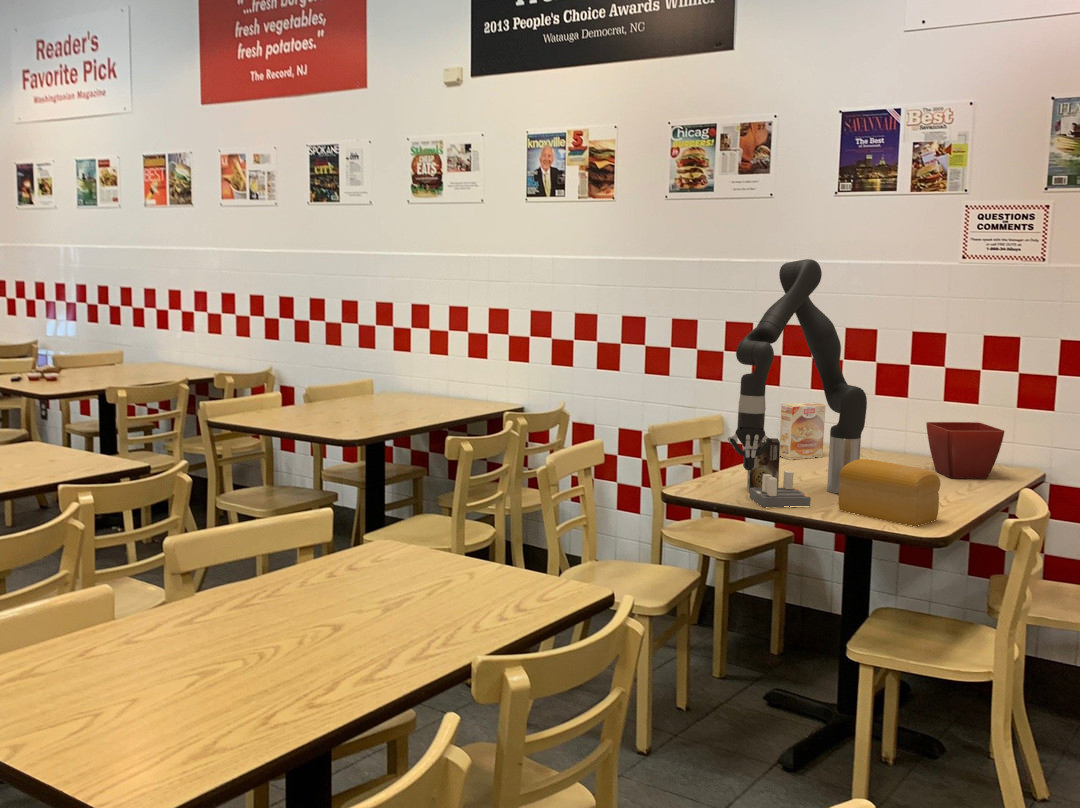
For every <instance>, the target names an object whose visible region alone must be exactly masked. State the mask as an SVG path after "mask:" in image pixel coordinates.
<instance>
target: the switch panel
mask: <svg viewBox="0 0 1080 808" xmlns="http://www.w3.org/2000/svg"><path fill="white" fill-rule="evenodd" d="M749 499H751V500H752V501H753V500H754V501H753V502H754V503H756V504H757V503H758V504H757V505H758V506H760V505H761V506H762V507H761V506H760V507H761V508H762V509H767V508H766V507H784V506H789V507H790V506H810V507H811V499H812V498H811V496H809V495H808V494H806V493H804V492H803V491H801V490H800V489H798V488H797V487H793V489H785V488H784V487H778V488H777V495H776V496H769V495H767V493H764V492H763V491H762V488H750V492H749Z"/></svg>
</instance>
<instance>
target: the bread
mask: <svg viewBox="0 0 1080 808" xmlns="http://www.w3.org/2000/svg"><path fill="white" fill-rule="evenodd" d="M840 481H841V484H840V488H839V494H838V503H837V504H838V510H839V509H840V510H843V511H842V512H844V511H846V512H845V513H848V512H850V513H849V514H852V513H855V514H854V515H857V514H859V515H858V516H862V515H863V516H862V517H866V516H868V517H867V518H871V517H873V518H872V519H875V518H877V520H880V519H882V520H881V521H884V520H886V522H889V521H892V522H891V523H894V522H896V523H895V524H898V523H901V524H900V525H903V524H907V525H906V526H908V525H912V526H911V527H913V526H917V527H919V526H918V525H921V524H924V525H926V524H925V523H927V524H929V523H928V522H931V521H934V520H936V521H937V519H938V516H939V515H938V514H939V510H940V509H939V507H940V495H939V491H940V488H941V479H940V476H939V475H938V474H936V473H935V472H934V471H932V470H928V469H926V468H921V467H916V466H910V465H905V464H898V463H892V462H887V461H881V460H877V459H876V460H874V459H868V458H860V459H857V460H854V461H852V462H850V463H848V464H847V465H845V466H844V467H843V468H842V470H841V472H840ZM840 510H839V511H840ZM934 522H935V521H934ZM931 523H932V522H931ZM921 526H922V525H921Z"/></svg>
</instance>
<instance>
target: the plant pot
mask: <svg viewBox="0 0 1080 808" xmlns="http://www.w3.org/2000/svg"><path fill="white" fill-rule="evenodd" d="M926 432H927V433H926V434H927V439H928V440H927V441H928V447H929V450H930V454H931V455H930V456H931V459H932V462H933V466H934V468H935V472H937V473H939V474H941V475H943V476H945V477H948V478H949V479H976V480H977V479H978V480H979V479H984V480H985V479H988V478H989V476H990V474H991V472H992V470H993V468H994V466H995V463H996V461H997V459H998V457H999V453H1000V450H1001V447H1002V443H1003V441H1004V440H1003V439H1004V436H1005V432H1006V431H1005V430H1003V429H1000V428H997V427H994V426H991V425H989V424H985V423H982V422H979V421H978V422H977V421H975V422H974V421H973V422H972V421H971V422H968V421H967V422H965V421H964V422H962V421H945V422H944V421H927V422H926Z"/></svg>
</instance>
